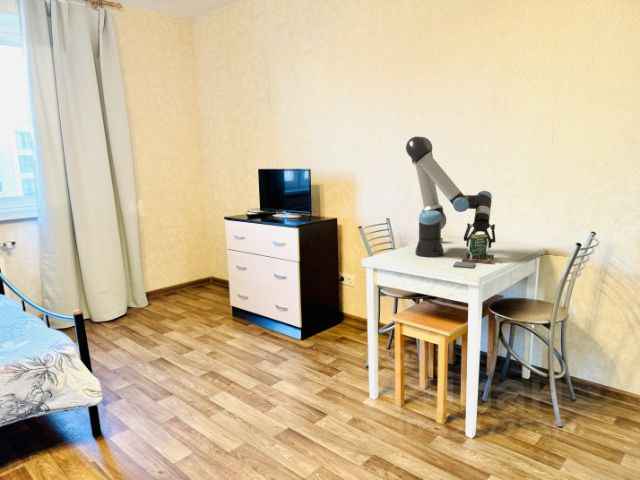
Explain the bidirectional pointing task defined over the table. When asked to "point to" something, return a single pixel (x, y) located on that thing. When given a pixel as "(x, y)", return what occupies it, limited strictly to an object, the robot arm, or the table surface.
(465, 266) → the mat
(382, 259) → the table surface
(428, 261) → the table surface
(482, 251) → the coffee box
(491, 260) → the brown flat square frame
